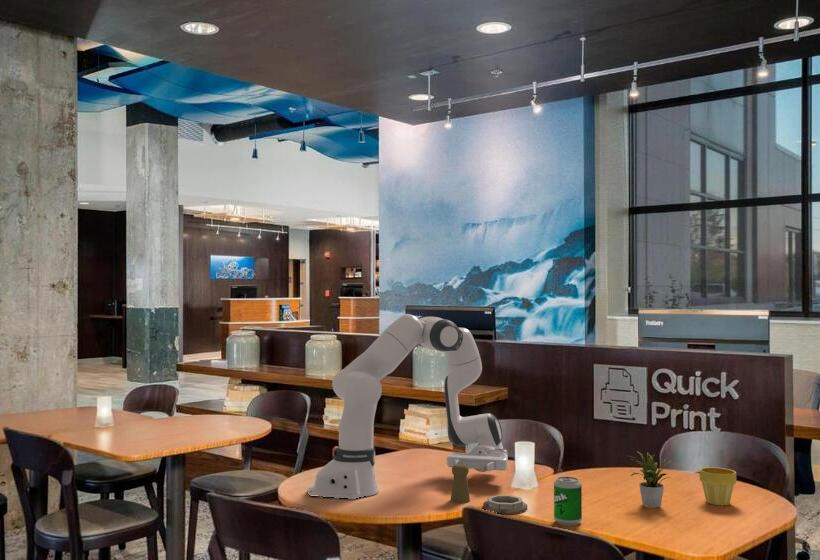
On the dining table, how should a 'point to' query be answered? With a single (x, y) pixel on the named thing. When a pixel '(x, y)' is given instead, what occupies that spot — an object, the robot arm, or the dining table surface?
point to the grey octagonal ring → (505, 504)
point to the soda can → (567, 501)
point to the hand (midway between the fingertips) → (471, 466)
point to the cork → (460, 484)
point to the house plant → (651, 482)
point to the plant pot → (717, 484)
